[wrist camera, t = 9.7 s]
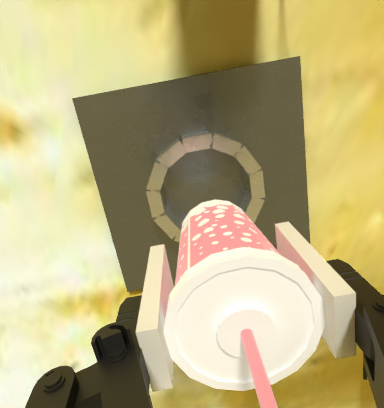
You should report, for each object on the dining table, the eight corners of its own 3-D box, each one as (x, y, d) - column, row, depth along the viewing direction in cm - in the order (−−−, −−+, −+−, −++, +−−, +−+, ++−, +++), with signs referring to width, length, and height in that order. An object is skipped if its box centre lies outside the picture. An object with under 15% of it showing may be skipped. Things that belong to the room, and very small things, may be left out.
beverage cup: (215, 290, 21) (281, 597, 8) (149, 236, 20) (95, 506, 7) (281, 229, 20) (484, 475, 7) (215, 167, 19) (313, 328, 5)
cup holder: (75, 98, 28) (62, 98, 24) (295, 57, 27) (312, 51, 24) (128, 286, 34) (123, 306, 31) (307, 254, 34) (321, 271, 30)
